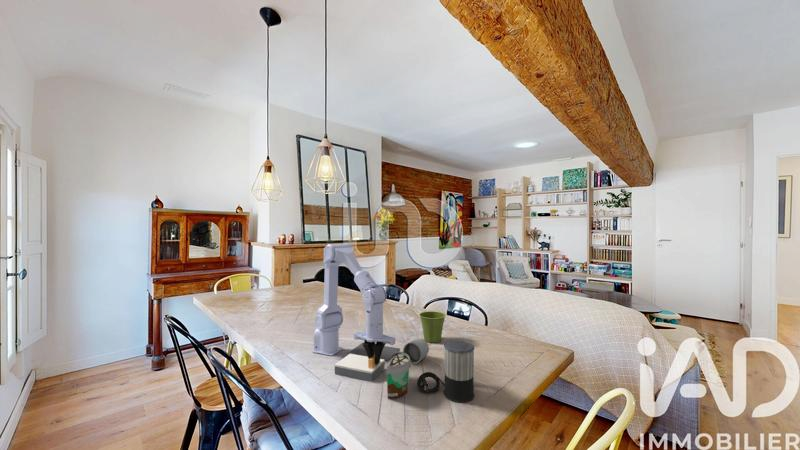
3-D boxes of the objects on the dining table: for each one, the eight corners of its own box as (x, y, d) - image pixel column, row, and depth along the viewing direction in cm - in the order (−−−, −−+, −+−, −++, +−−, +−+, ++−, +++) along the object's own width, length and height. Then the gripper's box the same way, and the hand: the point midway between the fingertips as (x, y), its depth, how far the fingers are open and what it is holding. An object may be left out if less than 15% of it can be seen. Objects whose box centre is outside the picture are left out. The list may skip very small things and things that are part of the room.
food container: (407, 404, 90) (407, 368, 90) (386, 401, 91) (386, 366, 91) (414, 382, 102) (414, 351, 102) (395, 380, 103) (395, 350, 103)
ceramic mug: (430, 357, 121) (430, 337, 121) (421, 366, 114) (420, 344, 114) (405, 352, 126) (405, 333, 126) (395, 360, 119) (395, 340, 119)
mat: (347, 354, 124) (347, 353, 124) (362, 343, 135) (362, 342, 135) (387, 361, 118) (387, 360, 118) (399, 349, 129) (399, 348, 129)
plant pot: (450, 338, 141) (450, 313, 141) (438, 347, 131) (438, 320, 131) (426, 333, 148) (426, 309, 148) (414, 341, 138) (414, 315, 138)
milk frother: (480, 400, 92) (480, 349, 92) (429, 409, 87) (430, 355, 87) (458, 377, 105) (458, 333, 105) (413, 384, 101) (413, 337, 101)
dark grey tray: (334, 374, 108) (334, 366, 108) (349, 362, 117) (349, 355, 117) (371, 381, 102) (371, 373, 102) (384, 368, 112) (384, 361, 112)
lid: (334, 368, 108) (334, 356, 108) (349, 356, 117) (349, 345, 117) (371, 375, 102) (371, 363, 102) (384, 363, 112) (384, 351, 112)
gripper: (349, 323, 107) (349, 364, 107) (389, 329, 101) (389, 371, 101) (359, 318, 113) (359, 356, 113) (397, 322, 108) (397, 362, 108)
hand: (374, 362), depth 108 cm, fingers closed on lid
